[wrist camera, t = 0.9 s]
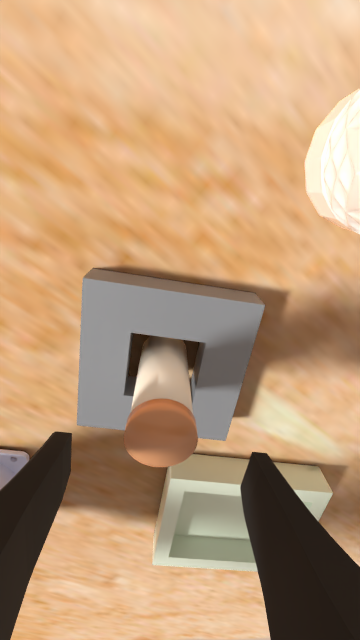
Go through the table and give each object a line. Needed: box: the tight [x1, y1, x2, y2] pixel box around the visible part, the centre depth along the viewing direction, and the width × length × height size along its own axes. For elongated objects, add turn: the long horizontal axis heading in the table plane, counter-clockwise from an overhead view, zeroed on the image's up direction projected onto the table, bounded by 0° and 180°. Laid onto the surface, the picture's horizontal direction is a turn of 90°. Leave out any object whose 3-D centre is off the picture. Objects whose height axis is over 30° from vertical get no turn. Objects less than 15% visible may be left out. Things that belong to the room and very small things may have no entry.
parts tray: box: [152, 454, 333, 572], centre depth 25 cm, size 12×10×2 cm
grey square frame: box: [77, 268, 265, 441], centre depth 19 cm, size 10×10×2 cm
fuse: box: [124, 335, 198, 467], centre depth 16 cm, size 3×3×8 cm
